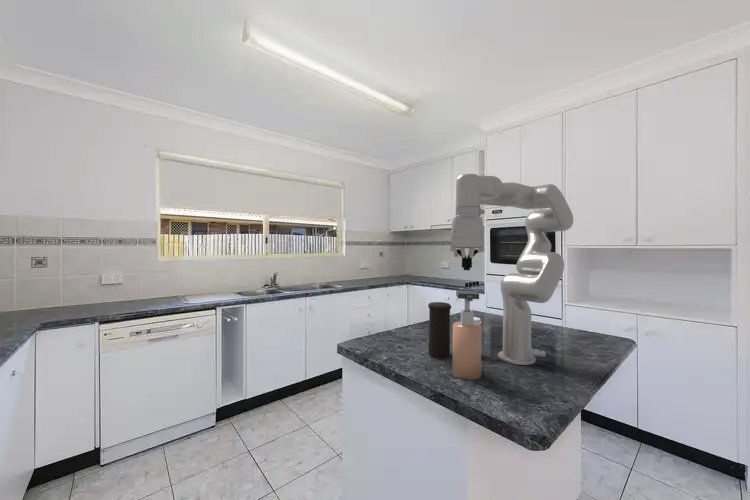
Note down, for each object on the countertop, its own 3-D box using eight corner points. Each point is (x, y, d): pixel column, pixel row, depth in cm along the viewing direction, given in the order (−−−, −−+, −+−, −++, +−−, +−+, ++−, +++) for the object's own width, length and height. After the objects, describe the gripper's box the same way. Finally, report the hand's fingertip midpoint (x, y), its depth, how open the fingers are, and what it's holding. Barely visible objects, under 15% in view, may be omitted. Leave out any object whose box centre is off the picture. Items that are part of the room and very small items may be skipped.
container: (449, 351, 125) (449, 300, 125) (452, 359, 116) (452, 305, 116) (426, 350, 126) (427, 300, 126) (428, 358, 117) (429, 304, 117)
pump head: (475, 310, 106) (475, 291, 105) (481, 316, 95) (481, 296, 95) (456, 309, 107) (456, 290, 106) (459, 316, 96) (459, 295, 96)
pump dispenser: (478, 369, 107) (479, 308, 107) (483, 380, 98) (484, 314, 98) (451, 367, 108) (451, 307, 108) (453, 378, 99) (454, 313, 99)
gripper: (489, 214, 105) (488, 269, 105) (443, 214, 107) (442, 268, 107) (494, 212, 97) (493, 271, 98) (444, 212, 100) (443, 270, 100)
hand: (466, 270), depth 102 cm, fingers closed
